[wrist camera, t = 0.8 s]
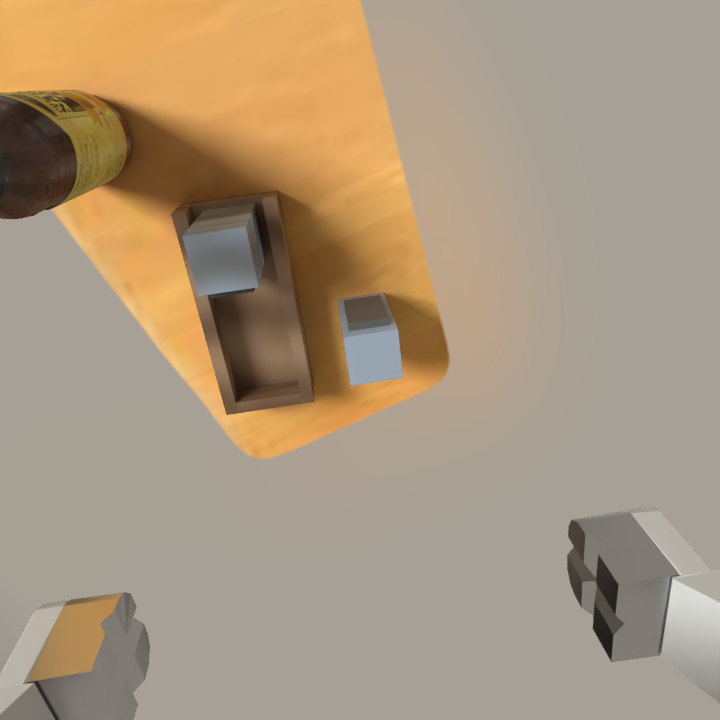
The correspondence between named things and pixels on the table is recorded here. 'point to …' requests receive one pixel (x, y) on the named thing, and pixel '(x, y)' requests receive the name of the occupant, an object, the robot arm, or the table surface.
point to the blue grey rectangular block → (370, 339)
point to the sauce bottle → (56, 148)
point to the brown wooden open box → (246, 300)
